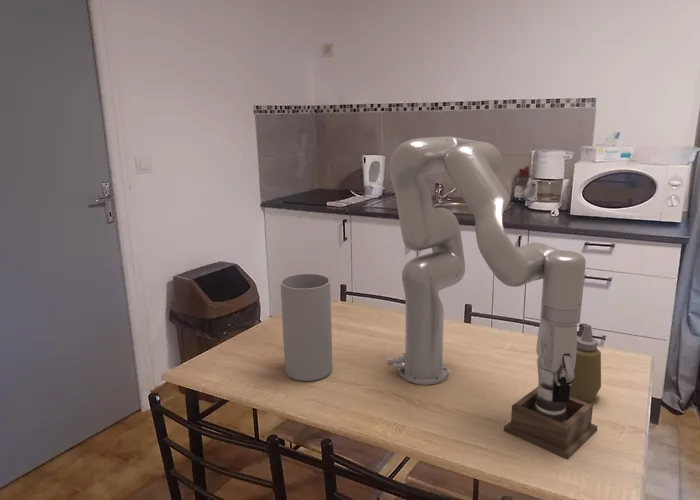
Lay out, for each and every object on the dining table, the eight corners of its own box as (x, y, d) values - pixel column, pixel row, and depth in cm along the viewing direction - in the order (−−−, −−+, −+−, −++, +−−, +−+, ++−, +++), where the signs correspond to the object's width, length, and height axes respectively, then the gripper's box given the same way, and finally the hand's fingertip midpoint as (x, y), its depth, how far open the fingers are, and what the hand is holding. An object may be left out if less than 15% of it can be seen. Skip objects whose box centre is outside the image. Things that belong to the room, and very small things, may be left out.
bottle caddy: (567, 459, 107) (570, 432, 106) (503, 430, 117) (505, 405, 116) (597, 429, 117) (599, 404, 115) (535, 405, 127) (537, 382, 125)
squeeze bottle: (596, 408, 125) (604, 335, 120) (559, 399, 129) (566, 328, 125) (602, 393, 132) (610, 323, 127) (566, 384, 136) (573, 316, 131)
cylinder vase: (342, 369, 145) (340, 280, 139) (307, 387, 136) (303, 292, 130) (310, 356, 154) (306, 270, 147) (275, 372, 145) (270, 282, 138)
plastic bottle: (568, 434, 114) (577, 345, 109) (534, 431, 115) (541, 343, 110) (562, 417, 120) (570, 332, 115) (530, 414, 121) (536, 330, 116)
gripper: (528, 297, 119) (523, 372, 123) (556, 329, 102) (549, 414, 106) (563, 297, 119) (556, 371, 123) (597, 329, 102) (588, 414, 106)
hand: (553, 391), depth 115 cm, fingers open, 7 cm apart
